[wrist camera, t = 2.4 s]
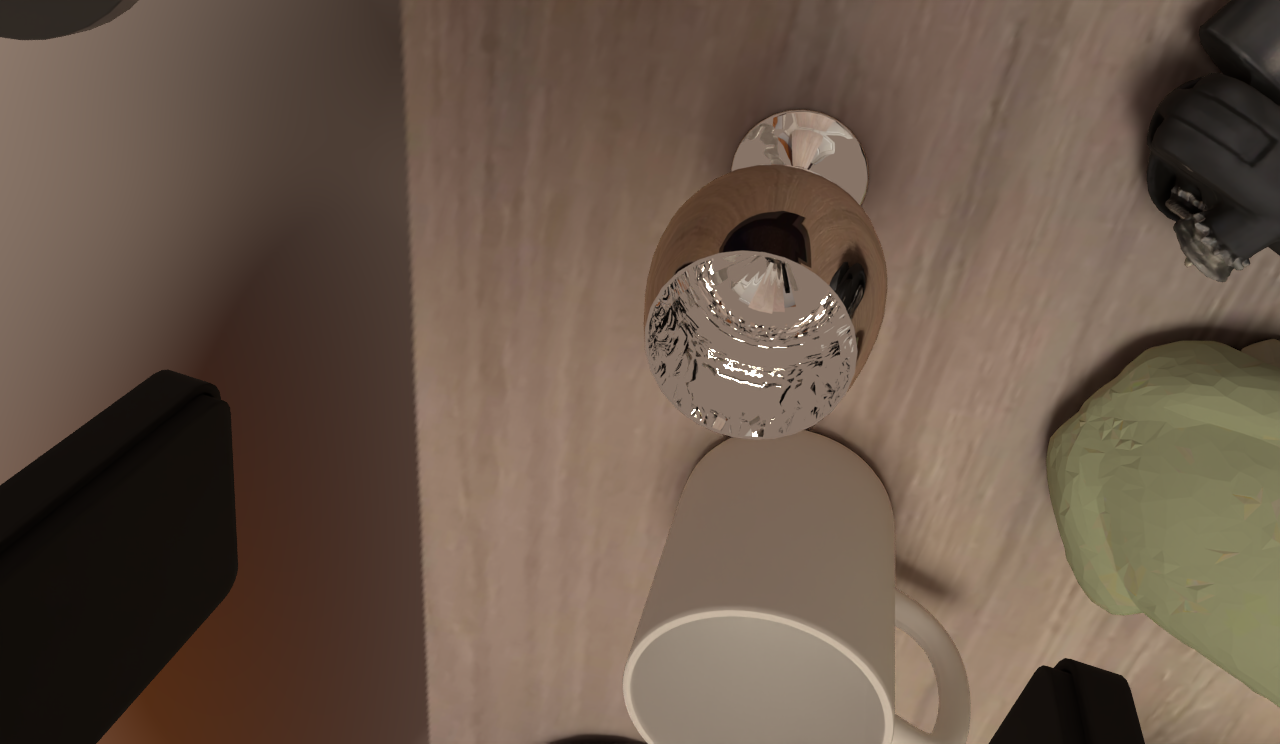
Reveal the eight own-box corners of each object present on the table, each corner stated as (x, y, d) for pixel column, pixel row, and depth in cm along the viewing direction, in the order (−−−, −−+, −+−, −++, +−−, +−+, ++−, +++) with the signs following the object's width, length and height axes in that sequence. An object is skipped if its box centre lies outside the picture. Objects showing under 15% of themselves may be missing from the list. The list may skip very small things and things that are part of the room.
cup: (745, 383, 35) (695, 564, 26) (1025, 535, 35) (1066, 762, 26) (651, 526, 39) (581, 721, 30) (900, 660, 39) (901, 889, 31)
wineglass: (922, 209, 30) (933, 402, 20) (767, 287, 32) (707, 493, 22) (834, 51, 28) (798, 172, 18) (678, 147, 31) (569, 300, 21)
